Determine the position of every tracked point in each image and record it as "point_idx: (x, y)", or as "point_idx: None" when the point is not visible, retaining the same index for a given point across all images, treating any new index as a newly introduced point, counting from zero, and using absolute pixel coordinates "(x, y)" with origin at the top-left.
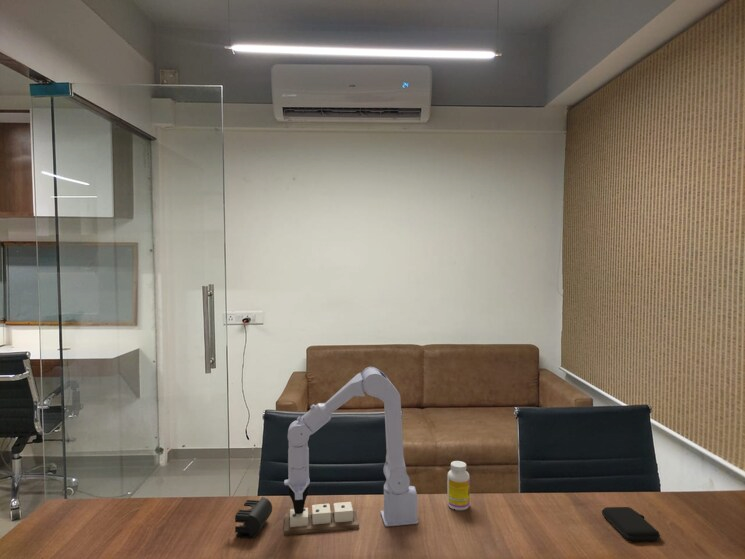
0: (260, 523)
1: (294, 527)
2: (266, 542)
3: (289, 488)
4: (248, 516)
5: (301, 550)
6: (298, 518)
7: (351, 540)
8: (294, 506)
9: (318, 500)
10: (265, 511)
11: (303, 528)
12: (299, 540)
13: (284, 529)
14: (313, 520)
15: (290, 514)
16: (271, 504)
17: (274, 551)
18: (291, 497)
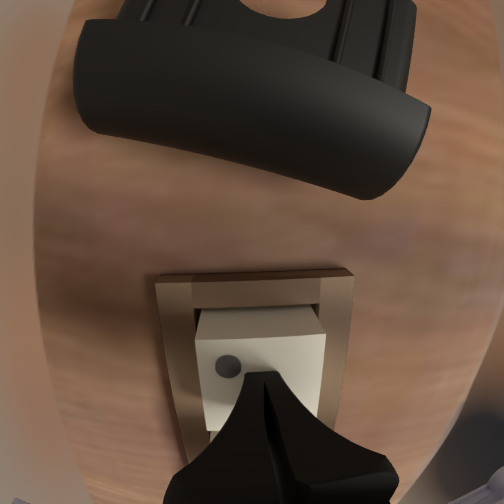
0: (101, 130)
1: (188, 339)
2: (105, 181)
3: (308, 491)
4: (116, 19)
5: (54, 349)
6: (200, 385)
7: (137, 485)
8: (234, 407)
9: (440, 395)
10: (242, 147)
11: (176, 380)
12: (118, 347)
13: (171, 284)
14: (210, 434)
15: (248, 341)
16: (375, 196)
17: (39, 234)
18: (189, 465)
